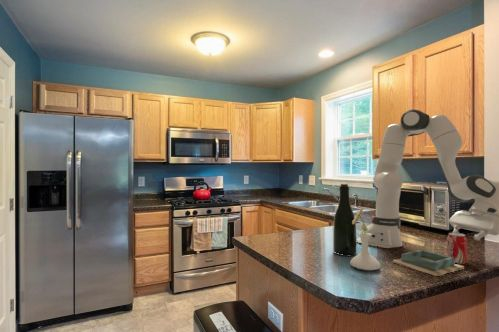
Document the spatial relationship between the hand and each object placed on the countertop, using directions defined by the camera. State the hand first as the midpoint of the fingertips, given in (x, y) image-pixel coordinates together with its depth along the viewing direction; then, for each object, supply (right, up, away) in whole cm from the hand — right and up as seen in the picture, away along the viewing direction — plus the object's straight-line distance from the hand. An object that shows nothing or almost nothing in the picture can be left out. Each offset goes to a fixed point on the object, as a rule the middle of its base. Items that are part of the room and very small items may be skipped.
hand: (464, 236), depth 123 cm
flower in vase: (-46, -11, -8) cm, 49 cm away
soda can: (-4, -11, -1) cm, 12 cm away
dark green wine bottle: (-47, -11, +12) cm, 50 cm away
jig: (-20, -11, -6) cm, 23 cm away
